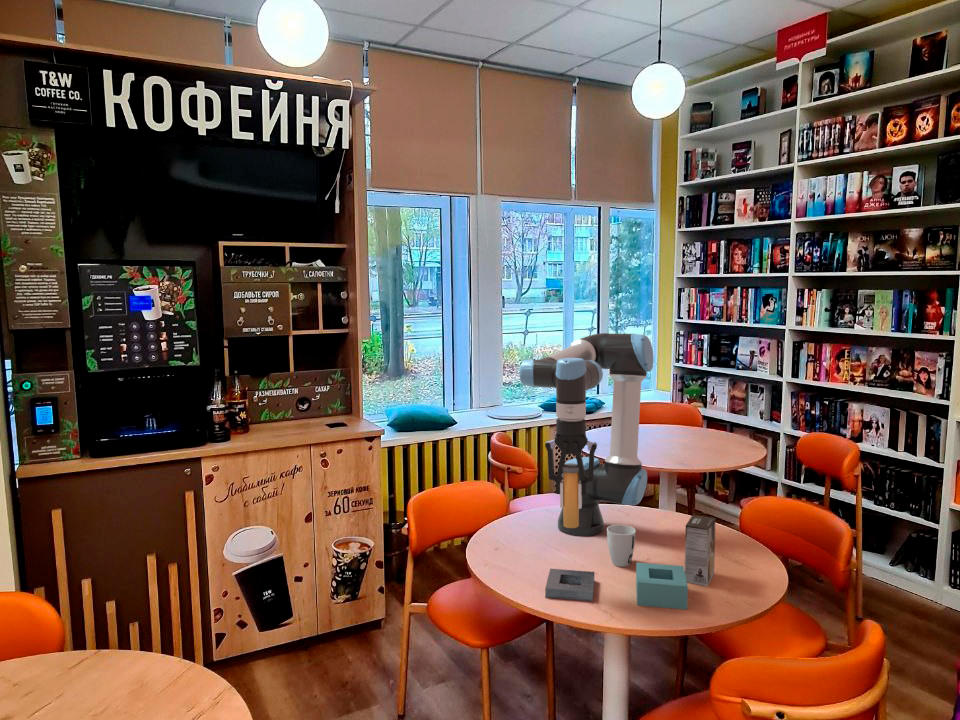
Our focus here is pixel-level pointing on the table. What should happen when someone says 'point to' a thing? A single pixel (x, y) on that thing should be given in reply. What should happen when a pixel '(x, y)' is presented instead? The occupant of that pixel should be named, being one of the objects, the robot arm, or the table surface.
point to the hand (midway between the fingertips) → (571, 506)
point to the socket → (661, 586)
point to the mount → (573, 592)
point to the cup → (621, 544)
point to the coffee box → (700, 550)
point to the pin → (570, 495)
